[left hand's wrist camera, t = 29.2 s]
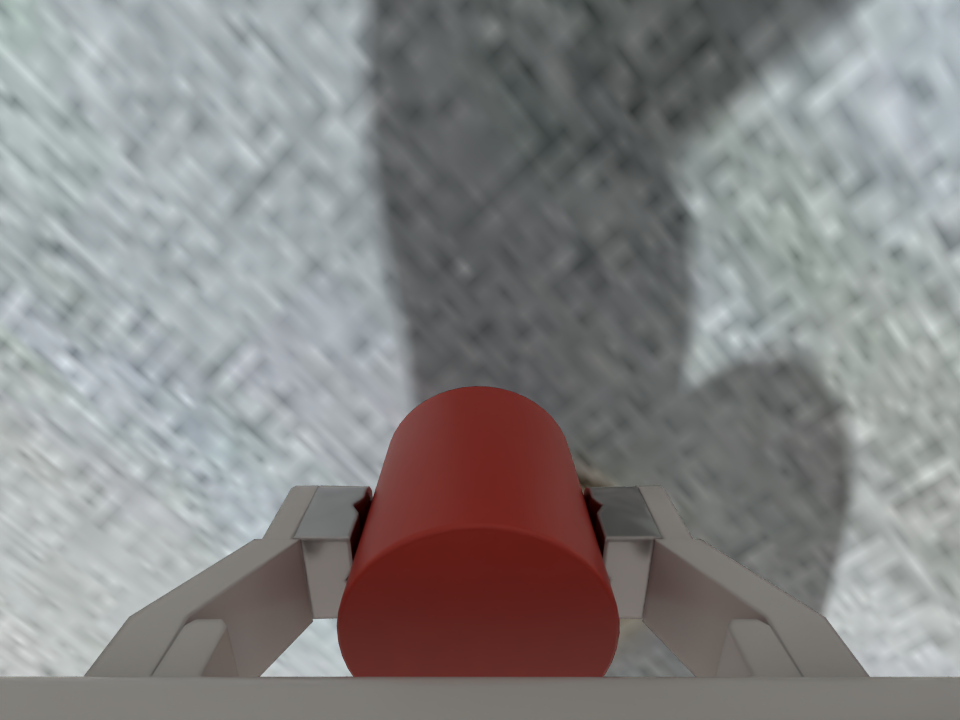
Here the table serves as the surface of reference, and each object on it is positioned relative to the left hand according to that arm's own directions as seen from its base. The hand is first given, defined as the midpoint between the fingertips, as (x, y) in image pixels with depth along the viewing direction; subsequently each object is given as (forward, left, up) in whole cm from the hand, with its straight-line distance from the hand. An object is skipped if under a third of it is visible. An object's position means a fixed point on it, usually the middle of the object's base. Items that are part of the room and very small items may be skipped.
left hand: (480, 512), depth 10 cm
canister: (0, 0, -2) cm, 2 cm away
